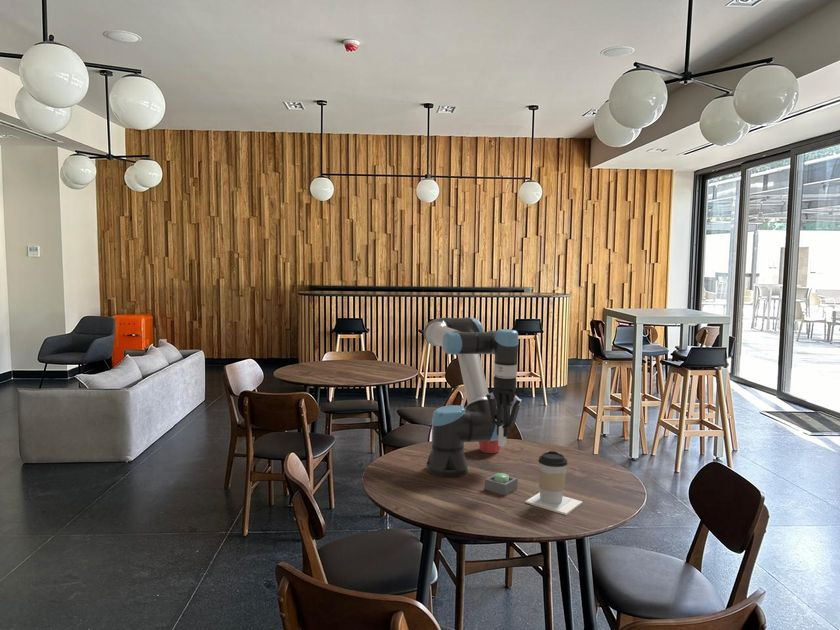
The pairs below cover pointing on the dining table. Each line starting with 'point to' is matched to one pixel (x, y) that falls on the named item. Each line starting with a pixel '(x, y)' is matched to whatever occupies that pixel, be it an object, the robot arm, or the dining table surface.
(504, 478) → the button
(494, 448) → the flower pot
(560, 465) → the coffee cup
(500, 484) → the button box
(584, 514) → the dining table surface
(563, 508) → the white flat piece
